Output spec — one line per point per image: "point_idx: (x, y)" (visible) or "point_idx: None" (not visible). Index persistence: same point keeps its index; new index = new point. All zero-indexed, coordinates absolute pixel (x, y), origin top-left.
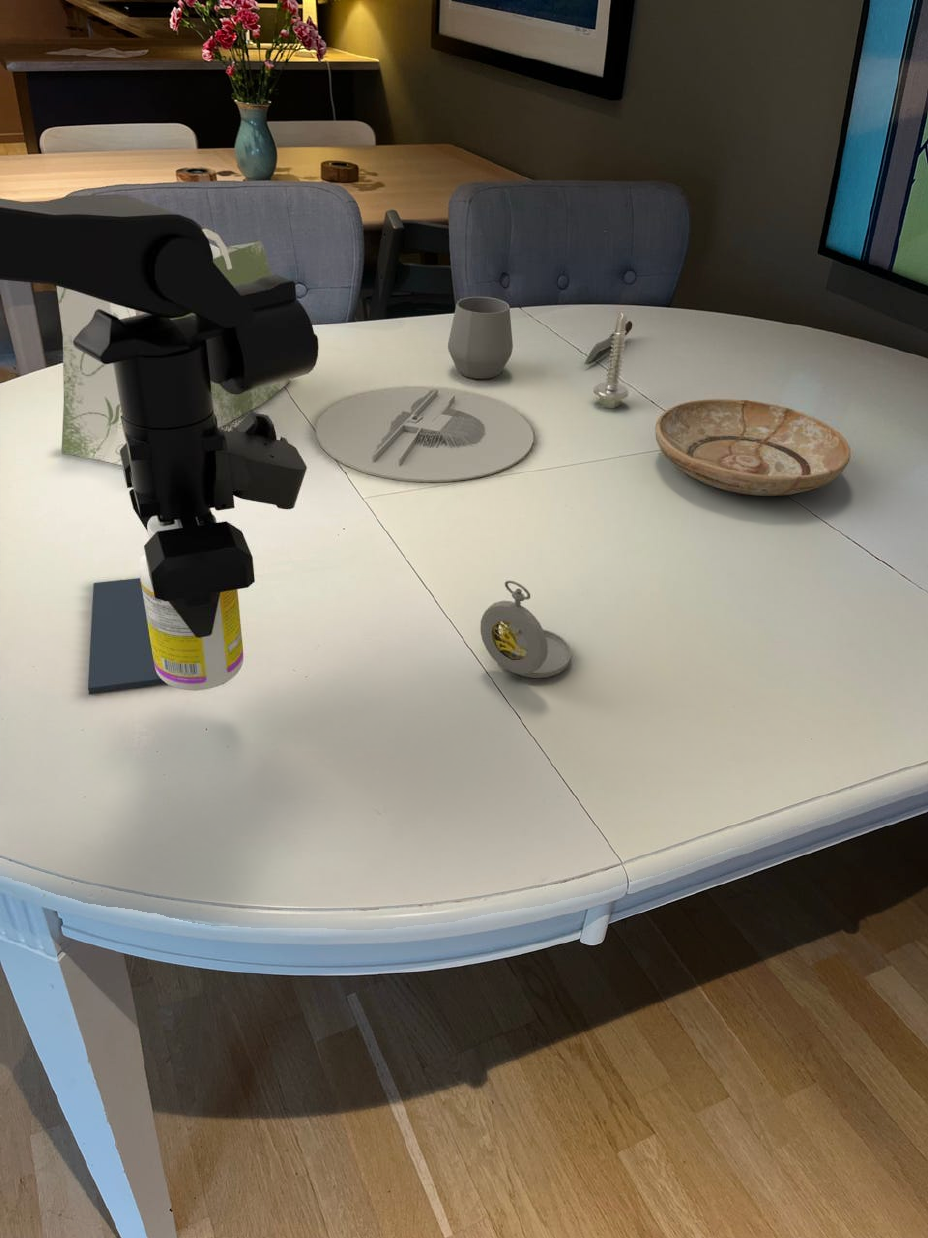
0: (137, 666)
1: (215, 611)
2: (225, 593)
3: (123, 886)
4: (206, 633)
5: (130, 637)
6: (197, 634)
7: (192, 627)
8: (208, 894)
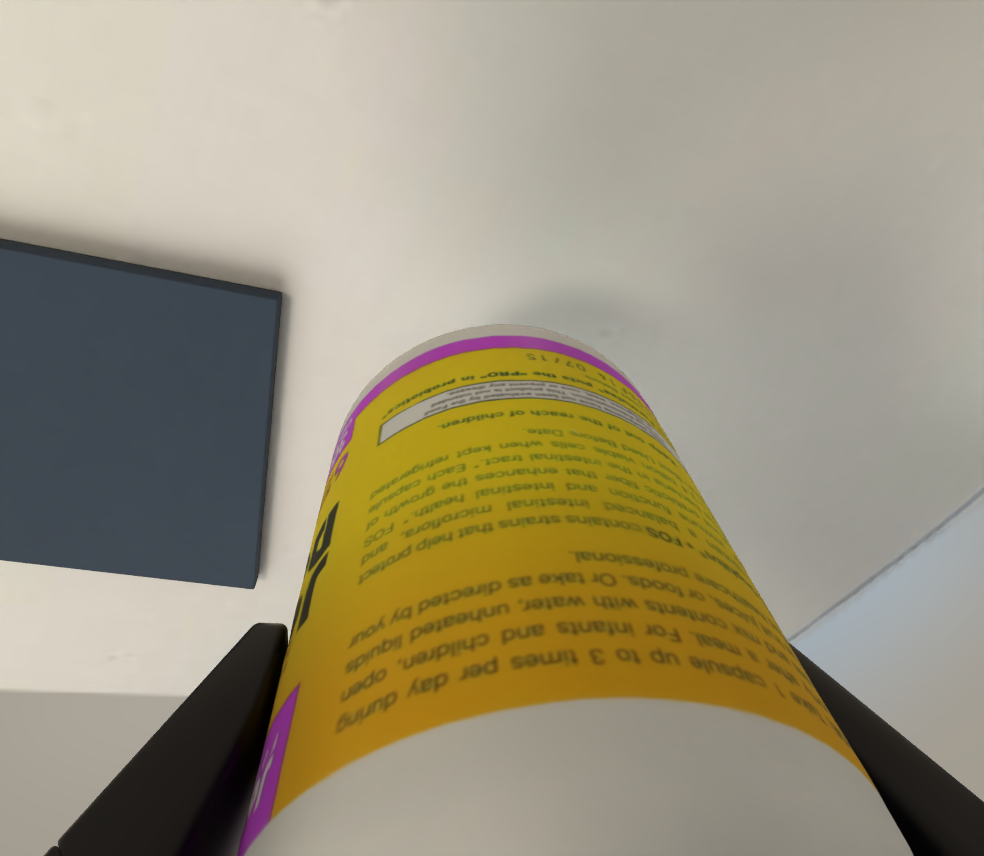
0: (188, 481)
1: (947, 778)
2: (837, 725)
3: (851, 588)
4: None
5: (29, 475)
6: None
7: None
8: (978, 476)
